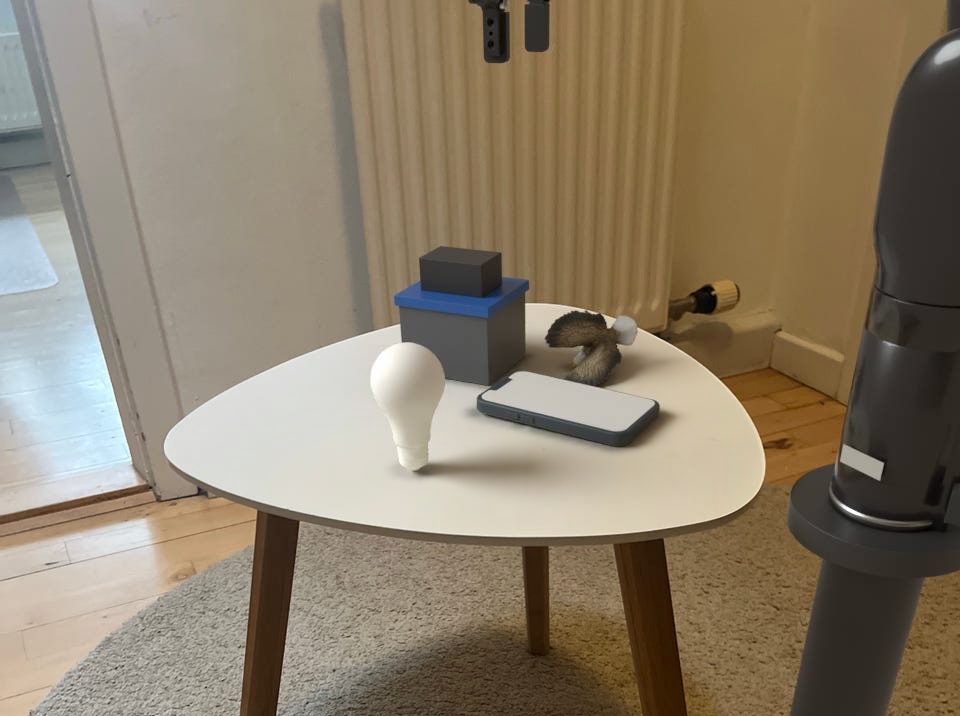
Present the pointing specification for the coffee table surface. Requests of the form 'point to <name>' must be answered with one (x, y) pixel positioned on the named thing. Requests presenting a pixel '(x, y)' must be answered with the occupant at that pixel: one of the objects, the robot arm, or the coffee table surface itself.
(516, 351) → the container
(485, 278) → the case
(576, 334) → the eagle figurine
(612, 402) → the smartphone
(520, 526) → the coffee table surface
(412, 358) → the lightbulb
